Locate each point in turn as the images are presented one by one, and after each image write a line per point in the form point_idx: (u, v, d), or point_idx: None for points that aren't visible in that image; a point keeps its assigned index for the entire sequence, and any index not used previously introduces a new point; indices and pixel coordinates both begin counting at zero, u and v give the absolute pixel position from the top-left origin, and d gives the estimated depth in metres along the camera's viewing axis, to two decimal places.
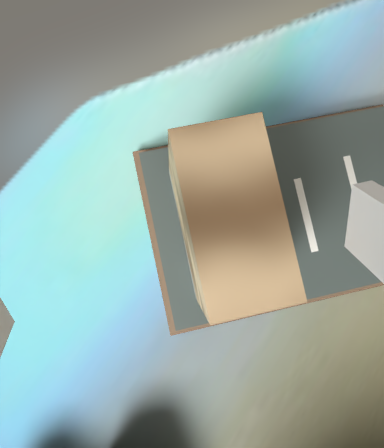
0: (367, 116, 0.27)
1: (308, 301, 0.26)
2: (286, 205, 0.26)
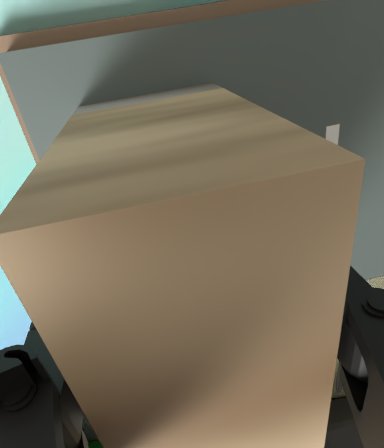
0: None
1: None
2: None
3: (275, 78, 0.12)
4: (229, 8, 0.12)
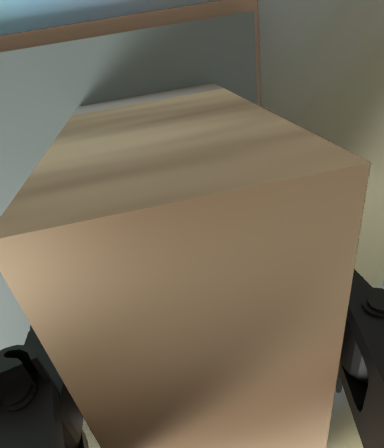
0: (203, 39, 0.11)
1: None
2: None
3: None
4: None
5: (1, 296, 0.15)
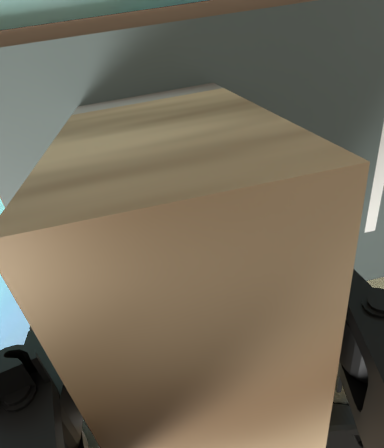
0: None
1: None
2: None
3: (228, 84, 0.12)
4: (180, 13, 0.12)
5: None
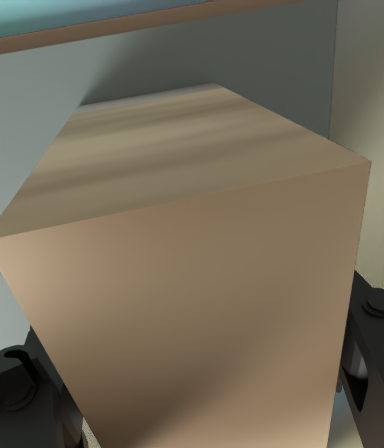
0: (287, 23, 0.11)
1: None
2: None
3: (30, 123, 0.12)
4: None
5: None
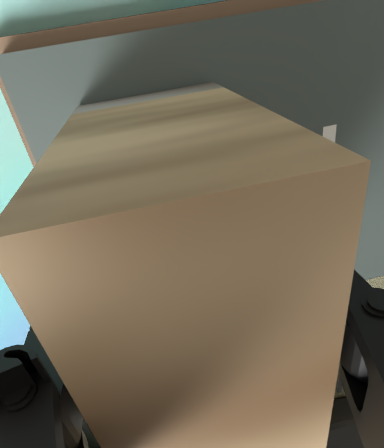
0: None
1: None
2: None
3: (271, 78, 0.12)
4: (225, 9, 0.12)
5: None
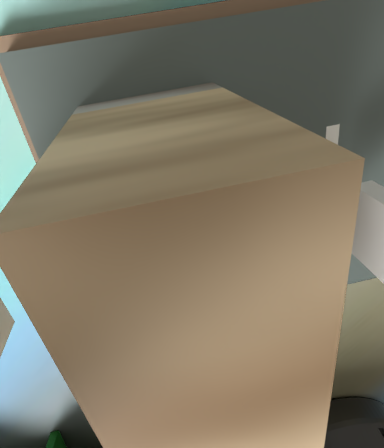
0: None
1: None
2: None
3: (275, 78, 0.12)
4: (229, 8, 0.12)
5: None
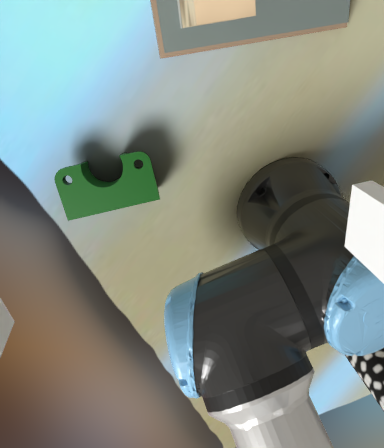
0: None
1: (259, 40, 0.37)
2: None
3: None
4: None
5: None
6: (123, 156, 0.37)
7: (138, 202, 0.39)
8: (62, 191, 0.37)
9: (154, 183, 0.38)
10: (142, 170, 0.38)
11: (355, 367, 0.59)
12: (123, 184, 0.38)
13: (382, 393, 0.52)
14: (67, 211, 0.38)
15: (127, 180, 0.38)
